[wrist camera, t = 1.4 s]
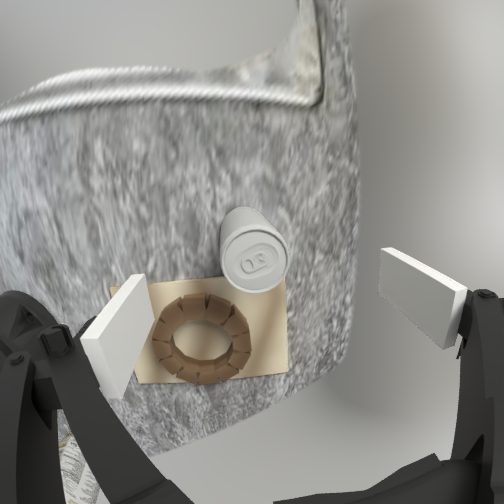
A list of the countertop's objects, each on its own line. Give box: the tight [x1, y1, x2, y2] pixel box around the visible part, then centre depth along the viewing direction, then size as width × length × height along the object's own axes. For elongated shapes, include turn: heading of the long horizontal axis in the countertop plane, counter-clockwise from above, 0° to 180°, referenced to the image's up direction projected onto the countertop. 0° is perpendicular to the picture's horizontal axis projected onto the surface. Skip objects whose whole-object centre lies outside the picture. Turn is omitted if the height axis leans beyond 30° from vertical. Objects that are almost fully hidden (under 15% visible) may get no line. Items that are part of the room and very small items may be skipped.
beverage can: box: [219, 207, 289, 294], centre depth 25 cm, size 5×5×12 cm
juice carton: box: [59, 434, 100, 504], centre depth 29 cm, size 8×9×19 cm
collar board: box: [110, 276, 288, 385], centre depth 32 cm, size 20×14×3 cm
